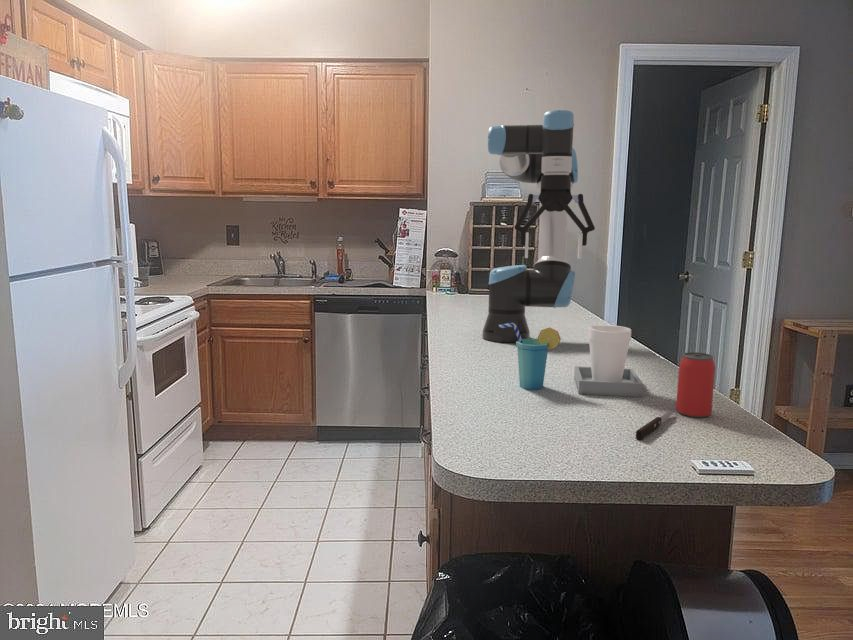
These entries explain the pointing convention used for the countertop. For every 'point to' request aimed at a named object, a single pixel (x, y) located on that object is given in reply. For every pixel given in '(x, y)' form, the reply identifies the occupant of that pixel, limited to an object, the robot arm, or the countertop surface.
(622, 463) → the countertop surface
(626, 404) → the countertop surface
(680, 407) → the beer can
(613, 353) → the foam cup
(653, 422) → the kitchen knife
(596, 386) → the tray
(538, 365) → the cup
